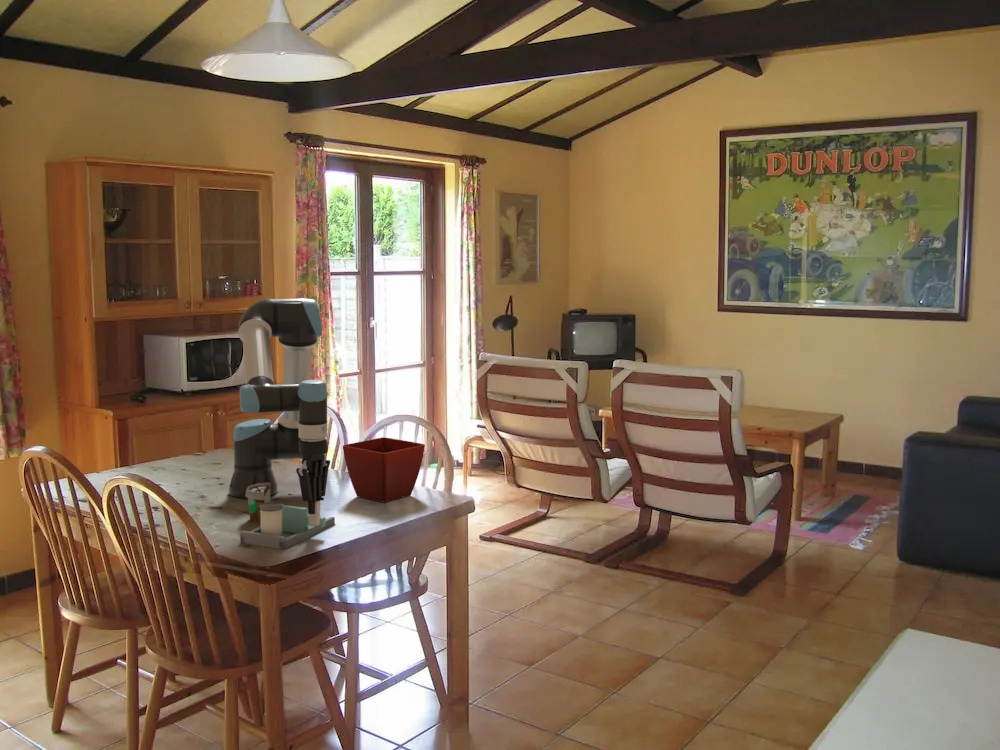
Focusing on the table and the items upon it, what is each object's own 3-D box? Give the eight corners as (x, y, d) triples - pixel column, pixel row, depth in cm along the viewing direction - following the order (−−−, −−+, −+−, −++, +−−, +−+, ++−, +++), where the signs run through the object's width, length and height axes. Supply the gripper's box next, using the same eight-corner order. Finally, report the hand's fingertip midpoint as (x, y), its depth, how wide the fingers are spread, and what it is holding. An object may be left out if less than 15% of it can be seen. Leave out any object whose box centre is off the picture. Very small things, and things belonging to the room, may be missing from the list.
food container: (250, 515, 279) (249, 482, 277) (271, 515, 279) (270, 482, 278) (242, 527, 266) (241, 493, 265) (264, 527, 267) (263, 492, 266)
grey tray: (239, 545, 250) (239, 531, 250) (293, 521, 273) (293, 508, 273) (284, 552, 245) (283, 538, 245) (335, 526, 268) (335, 513, 268)
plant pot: (383, 485, 316) (383, 436, 313) (426, 495, 304) (426, 443, 302) (341, 497, 300) (340, 445, 298) (384, 507, 289) (384, 453, 287)
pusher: (272, 529, 261) (272, 505, 260) (278, 527, 263) (277, 503, 262) (322, 537, 255) (322, 511, 254) (327, 534, 257) (327, 509, 256)
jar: (256, 542, 250) (255, 506, 249) (269, 536, 255) (268, 500, 254) (274, 545, 248) (273, 508, 247) (287, 539, 253) (286, 503, 252)
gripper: (311, 444, 244) (312, 532, 247) (338, 435, 256) (339, 520, 259) (287, 441, 247) (288, 529, 250) (314, 433, 259) (315, 516, 262)
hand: (314, 524), depth 255 cm, fingers closed
